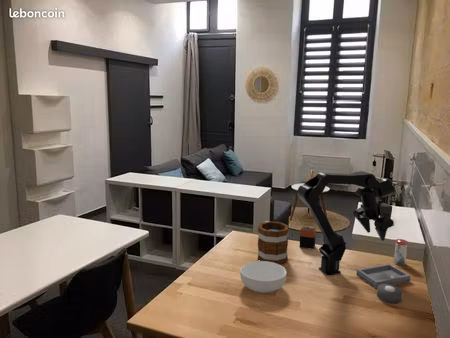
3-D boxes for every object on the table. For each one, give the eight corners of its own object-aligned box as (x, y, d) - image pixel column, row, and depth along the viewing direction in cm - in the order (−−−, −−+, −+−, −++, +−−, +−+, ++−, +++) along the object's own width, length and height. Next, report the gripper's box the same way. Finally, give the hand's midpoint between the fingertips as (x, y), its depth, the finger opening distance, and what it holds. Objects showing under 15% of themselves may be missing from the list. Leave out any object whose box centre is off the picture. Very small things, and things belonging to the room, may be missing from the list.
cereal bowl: (291, 282, 141) (291, 265, 140) (278, 304, 126) (279, 285, 125) (249, 273, 148) (249, 257, 147) (233, 293, 133) (233, 275, 132)
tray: (376, 288, 136) (376, 282, 136) (356, 275, 146) (356, 269, 146) (410, 281, 141) (410, 275, 141) (388, 269, 151) (389, 263, 151)
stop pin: (399, 266, 154) (401, 243, 152) (391, 261, 158) (393, 239, 156) (407, 264, 156) (409, 242, 154) (399, 260, 160) (401, 238, 158)
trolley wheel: (388, 305, 125) (389, 295, 124) (371, 293, 132) (372, 284, 132) (406, 301, 128) (407, 291, 127) (389, 290, 135) (390, 280, 134)
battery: (314, 249, 171) (315, 229, 170) (299, 247, 174) (300, 227, 172) (315, 246, 175) (316, 225, 174) (300, 244, 178) (301, 224, 176)
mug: (292, 265, 155) (293, 231, 152) (260, 267, 154) (261, 232, 151) (279, 246, 174) (280, 216, 172) (251, 248, 173) (252, 217, 170)
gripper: (402, 201, 141) (408, 237, 145) (372, 189, 159) (378, 222, 163) (377, 211, 139) (384, 247, 143) (349, 198, 157) (356, 231, 161)
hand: (375, 236), depth 152 cm, fingers open, 9 cm apart
